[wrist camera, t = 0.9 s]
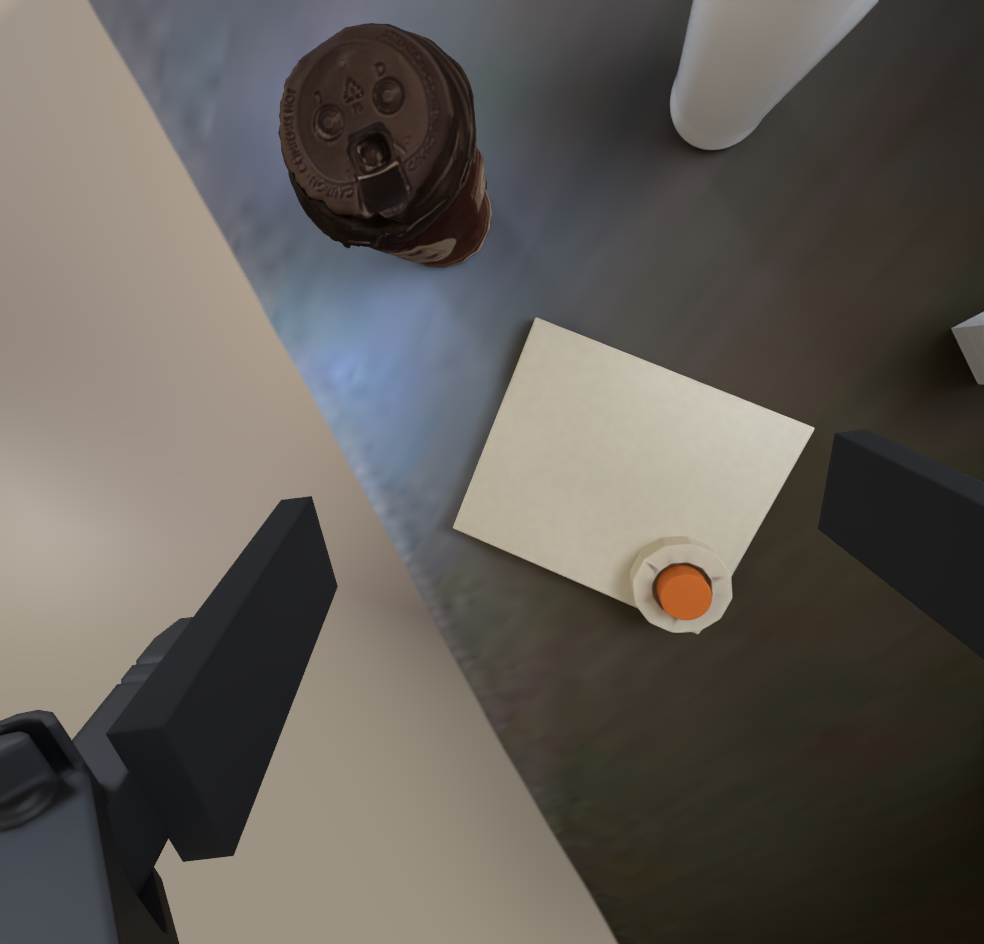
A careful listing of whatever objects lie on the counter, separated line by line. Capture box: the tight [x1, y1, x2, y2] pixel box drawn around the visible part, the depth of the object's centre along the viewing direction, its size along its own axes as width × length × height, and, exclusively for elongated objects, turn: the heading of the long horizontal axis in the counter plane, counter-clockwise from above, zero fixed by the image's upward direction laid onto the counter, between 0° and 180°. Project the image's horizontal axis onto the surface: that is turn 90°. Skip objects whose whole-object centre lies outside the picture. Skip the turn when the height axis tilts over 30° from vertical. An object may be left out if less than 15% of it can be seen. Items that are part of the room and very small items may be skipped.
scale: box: [453, 318, 815, 634], centre depth 32 cm, size 18×15×3 cm
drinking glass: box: [670, 0, 880, 150], centre depth 21 cm, size 7×7×15 cm
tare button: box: [656, 565, 712, 620], centre depth 31 cm, size 3×3×2 cm
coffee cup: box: [278, 23, 492, 267], centre depth 26 cm, size 9×8×13 cm
